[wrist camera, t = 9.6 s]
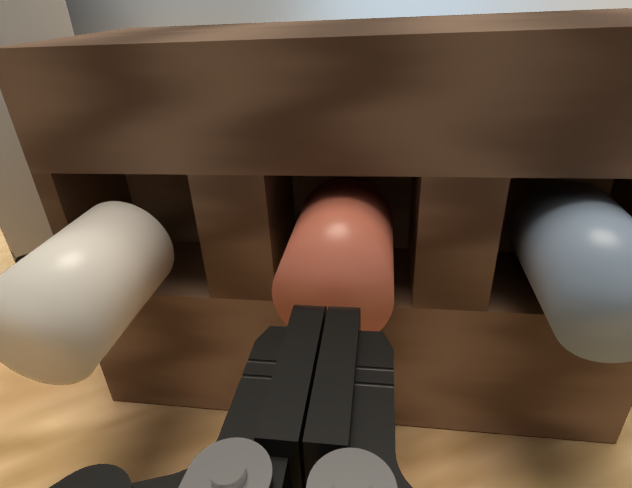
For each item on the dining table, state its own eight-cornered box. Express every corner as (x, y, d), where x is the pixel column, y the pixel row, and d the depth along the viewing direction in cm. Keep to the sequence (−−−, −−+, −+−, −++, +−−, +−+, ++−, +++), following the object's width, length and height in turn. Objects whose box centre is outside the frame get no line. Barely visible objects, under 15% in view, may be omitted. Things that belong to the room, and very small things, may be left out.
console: (113, 400, 20) (-15, 48, 13) (185, 293, 27) (126, 28, 20) (615, 443, 17) (791, 21, 10) (549, 310, 24) (626, 8, 17)
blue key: (539, 358, 12) (567, 252, 10) (502, 267, 16) (518, 180, 14) (675, 367, 11) (725, 257, 10) (602, 271, 15) (629, 181, 14)
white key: (0, 380, 12) (-52, 278, 10) (95, 284, 16) (67, 199, 14) (112, 389, 12) (75, 284, 10) (182, 288, 15) (163, 201, 14)
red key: (277, 342, 13) (266, 242, 11) (303, 260, 17) (298, 178, 15) (391, 349, 12) (396, 246, 11) (391, 263, 16) (394, 178, 15)
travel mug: (18, 322, 25) (-197, -155, 15) (37, 264, 30) (-112, -113, 21) (139, 295, 27) (15, -147, 17) (136, 245, 32) (41, -110, 22)
